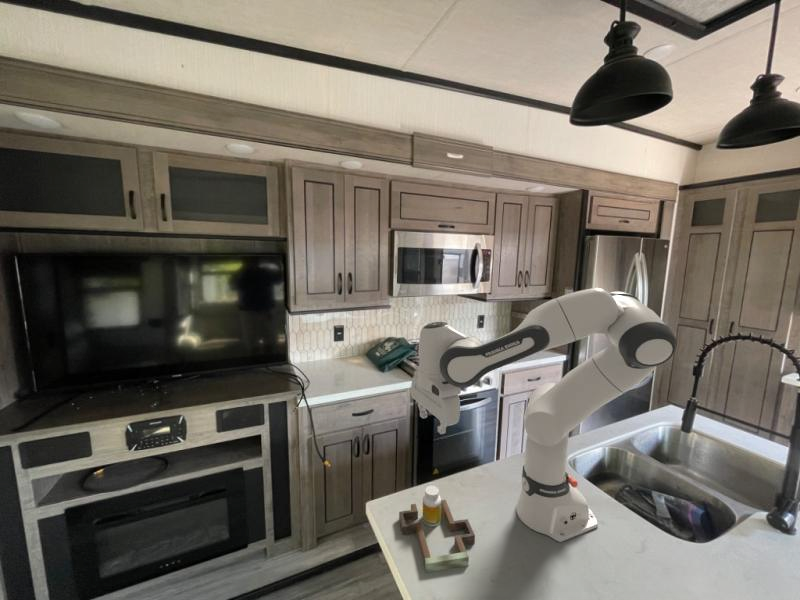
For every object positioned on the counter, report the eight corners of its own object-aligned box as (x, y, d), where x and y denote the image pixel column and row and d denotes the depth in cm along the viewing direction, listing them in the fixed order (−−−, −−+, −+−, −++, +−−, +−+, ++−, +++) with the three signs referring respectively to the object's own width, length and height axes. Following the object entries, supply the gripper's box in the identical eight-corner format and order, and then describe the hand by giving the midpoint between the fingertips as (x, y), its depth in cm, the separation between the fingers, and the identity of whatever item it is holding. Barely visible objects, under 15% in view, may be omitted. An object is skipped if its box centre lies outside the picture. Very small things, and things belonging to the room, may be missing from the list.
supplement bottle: (440, 528, 95) (440, 498, 93) (421, 525, 96) (421, 495, 94) (441, 513, 100) (441, 485, 99) (423, 511, 101) (424, 482, 100)
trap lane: (457, 505, 103) (457, 498, 103) (483, 562, 84) (483, 554, 84) (398, 513, 100) (398, 506, 100) (410, 575, 81) (410, 566, 81)
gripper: (406, 368, 100) (405, 411, 102) (444, 395, 82) (443, 446, 85) (423, 365, 103) (422, 406, 105) (465, 390, 85) (462, 439, 87)
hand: (432, 424), depth 95 cm, fingers open, 8 cm apart
